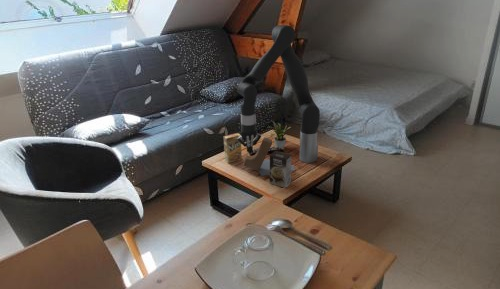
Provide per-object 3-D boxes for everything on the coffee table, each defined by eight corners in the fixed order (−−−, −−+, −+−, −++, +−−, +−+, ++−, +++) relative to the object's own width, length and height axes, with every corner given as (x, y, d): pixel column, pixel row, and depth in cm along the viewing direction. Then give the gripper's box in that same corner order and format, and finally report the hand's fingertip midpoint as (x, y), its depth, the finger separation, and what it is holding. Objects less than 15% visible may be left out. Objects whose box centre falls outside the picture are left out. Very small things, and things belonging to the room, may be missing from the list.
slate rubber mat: (285, 157, 204) (285, 156, 204) (295, 170, 190) (295, 169, 190) (253, 162, 200) (253, 161, 200) (261, 176, 186) (261, 175, 186)
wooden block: (242, 165, 188) (256, 137, 181) (243, 161, 192) (256, 133, 185) (258, 171, 190) (272, 143, 182) (258, 167, 194) (272, 139, 186)
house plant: (261, 147, 217) (261, 122, 210) (278, 140, 224) (278, 116, 217) (277, 155, 207) (277, 129, 200) (294, 148, 214) (295, 123, 207)
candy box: (227, 163, 200) (226, 138, 193) (224, 160, 203) (223, 135, 196) (242, 159, 203) (240, 135, 197) (238, 156, 207) (237, 132, 200)
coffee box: (269, 183, 179) (268, 155, 172) (275, 177, 184) (275, 149, 177) (285, 188, 175) (286, 159, 168) (291, 182, 180) (291, 153, 173)
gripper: (258, 117, 185) (259, 147, 192) (234, 120, 182) (235, 151, 189) (263, 122, 178) (263, 153, 186) (237, 126, 175) (239, 157, 183)
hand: (249, 152), depth 187 cm, fingers closed
